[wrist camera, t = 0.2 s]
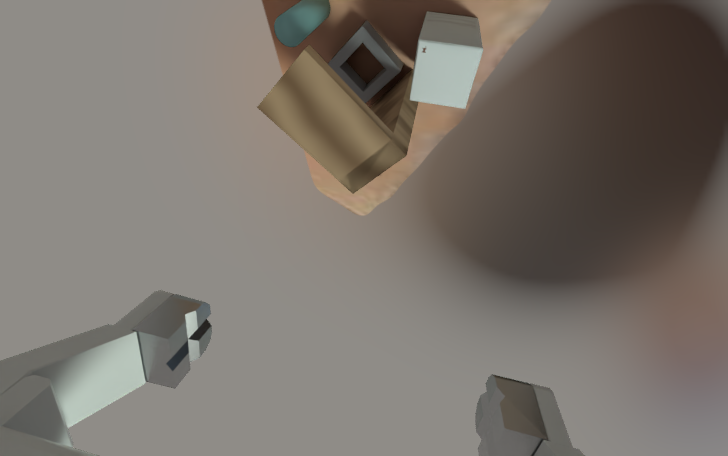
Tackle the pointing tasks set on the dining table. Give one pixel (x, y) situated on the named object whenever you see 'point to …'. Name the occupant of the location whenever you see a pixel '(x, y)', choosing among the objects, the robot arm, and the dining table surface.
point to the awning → (341, 120)
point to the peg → (301, 21)
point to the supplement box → (446, 59)
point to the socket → (379, 50)
